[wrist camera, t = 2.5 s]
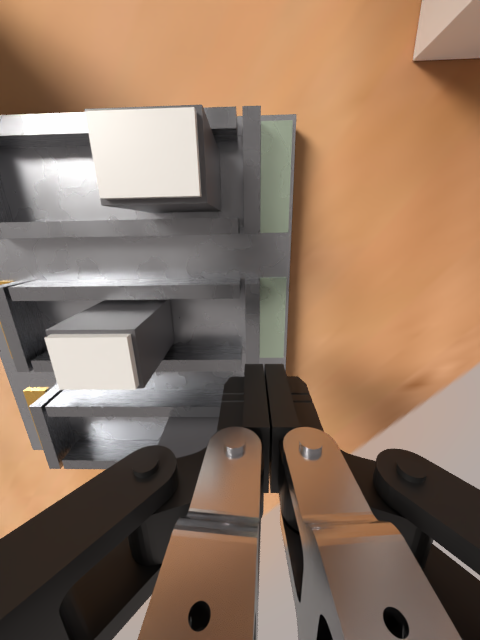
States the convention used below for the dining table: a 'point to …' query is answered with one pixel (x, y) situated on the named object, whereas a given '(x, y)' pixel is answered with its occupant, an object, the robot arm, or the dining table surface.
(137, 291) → the panel
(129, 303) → the block
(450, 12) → the frame
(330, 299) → the dining table surface
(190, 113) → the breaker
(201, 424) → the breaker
